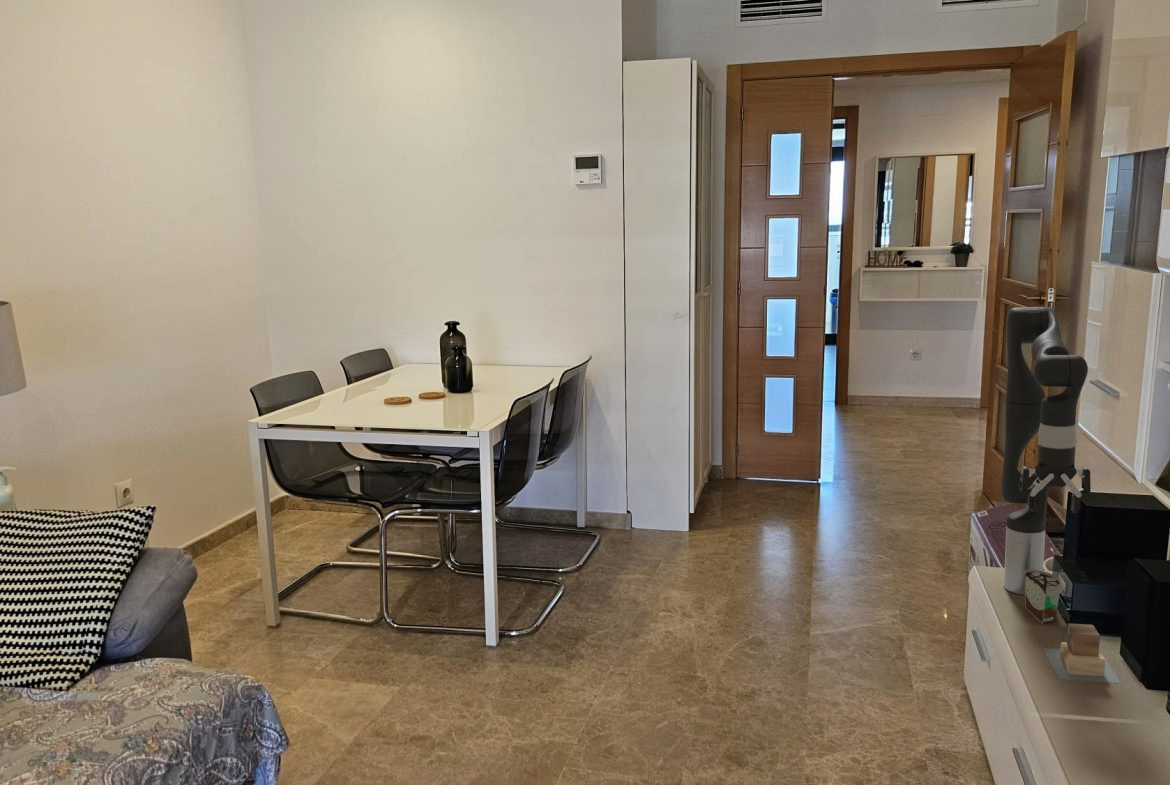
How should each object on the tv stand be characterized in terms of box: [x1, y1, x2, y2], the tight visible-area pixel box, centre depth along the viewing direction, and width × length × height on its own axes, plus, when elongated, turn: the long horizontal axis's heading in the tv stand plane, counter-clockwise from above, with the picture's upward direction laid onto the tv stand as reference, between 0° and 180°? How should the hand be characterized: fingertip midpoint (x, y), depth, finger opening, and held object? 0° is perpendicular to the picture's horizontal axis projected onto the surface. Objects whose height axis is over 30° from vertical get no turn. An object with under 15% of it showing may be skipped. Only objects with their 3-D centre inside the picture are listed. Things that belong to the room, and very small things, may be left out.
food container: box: [1024, 570, 1064, 625], centre depth 222 cm, size 12×6×10 cm, turn 179°
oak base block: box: [1060, 641, 1106, 676], centre depth 196 cm, size 7×7×4 cm
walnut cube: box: [1066, 623, 1101, 657], centre depth 196 cm, size 5×5×5 cm
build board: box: [1042, 647, 1122, 684], centre depth 198 cm, size 14×12×1 cm
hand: (1053, 511), depth 204 cm, fingers open, 8 cm apart
